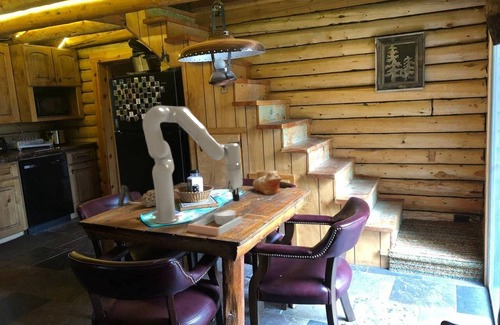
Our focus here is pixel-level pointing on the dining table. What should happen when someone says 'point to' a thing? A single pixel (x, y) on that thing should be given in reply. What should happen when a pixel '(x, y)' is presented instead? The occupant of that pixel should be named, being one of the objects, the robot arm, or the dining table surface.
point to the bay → (200, 228)
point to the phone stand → (122, 196)
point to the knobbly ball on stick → (147, 199)
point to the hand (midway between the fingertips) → (236, 200)
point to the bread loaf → (267, 182)
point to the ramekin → (224, 216)
